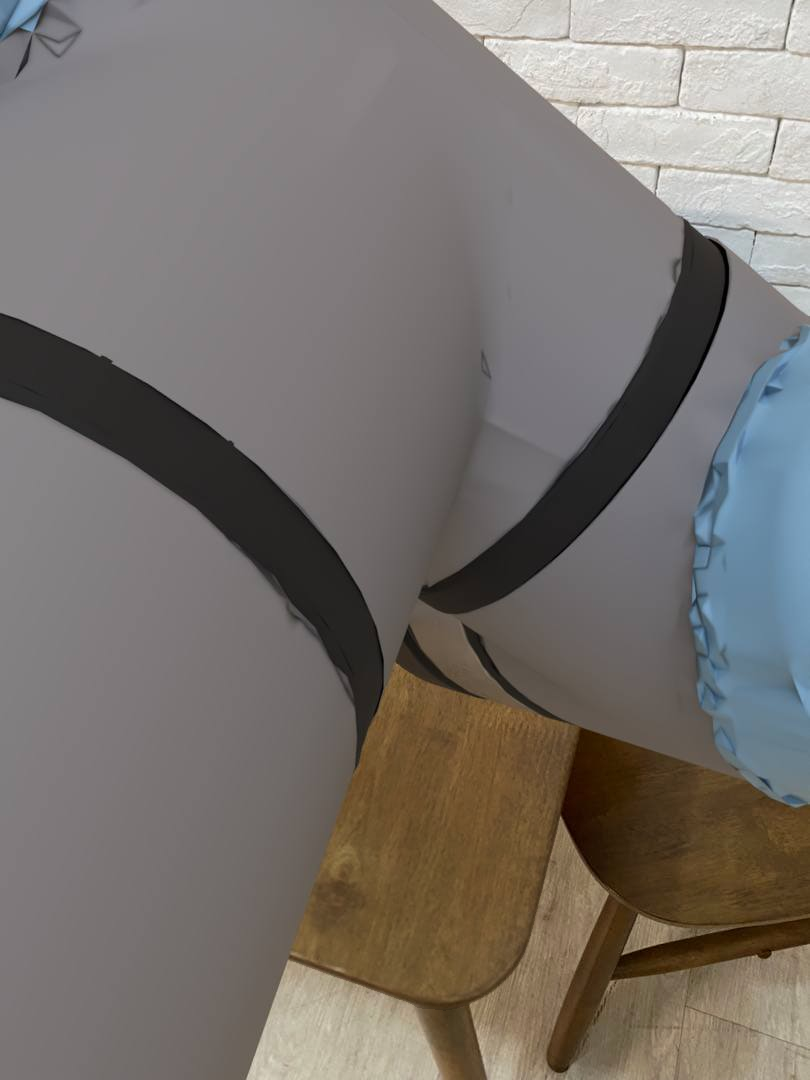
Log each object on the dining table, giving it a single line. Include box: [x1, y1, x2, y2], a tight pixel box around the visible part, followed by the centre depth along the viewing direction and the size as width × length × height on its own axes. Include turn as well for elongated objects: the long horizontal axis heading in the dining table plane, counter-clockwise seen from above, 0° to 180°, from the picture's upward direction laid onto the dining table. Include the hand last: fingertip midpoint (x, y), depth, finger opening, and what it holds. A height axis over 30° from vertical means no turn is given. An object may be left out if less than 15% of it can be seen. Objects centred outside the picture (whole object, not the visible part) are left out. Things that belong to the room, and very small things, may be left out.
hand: (317, 572), depth 49 cm, fingers closed
